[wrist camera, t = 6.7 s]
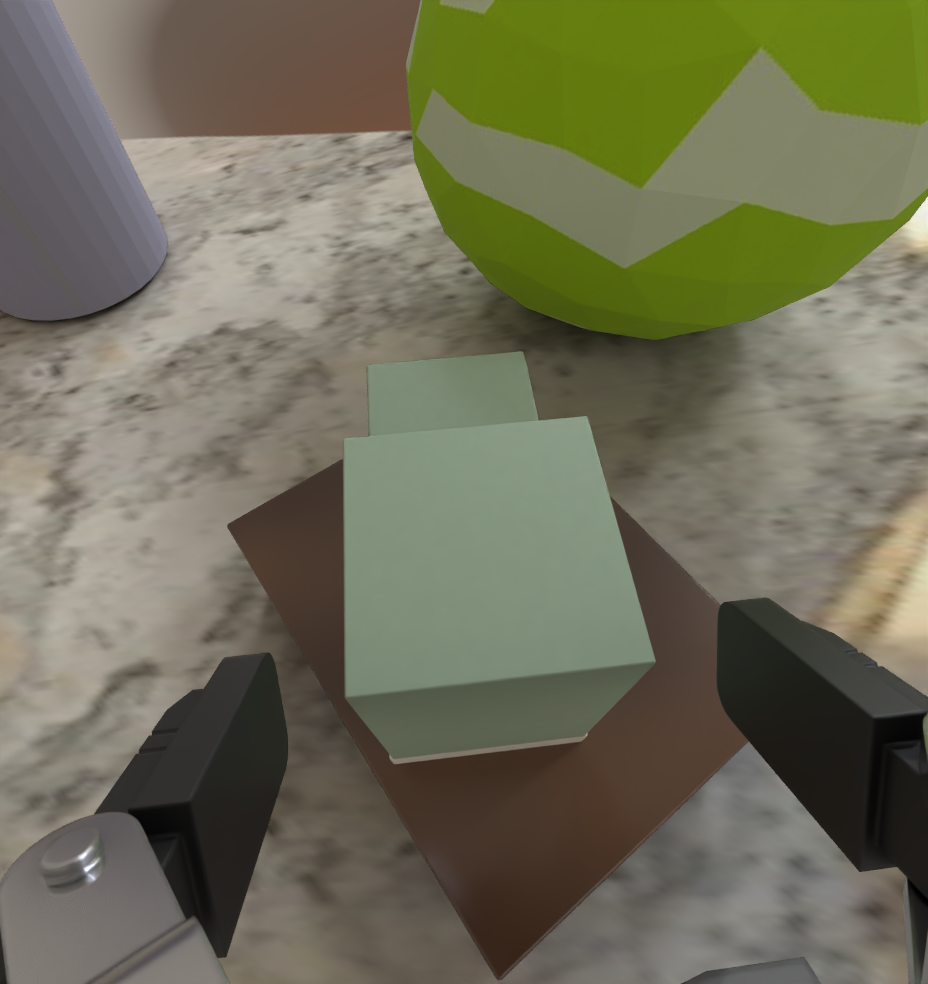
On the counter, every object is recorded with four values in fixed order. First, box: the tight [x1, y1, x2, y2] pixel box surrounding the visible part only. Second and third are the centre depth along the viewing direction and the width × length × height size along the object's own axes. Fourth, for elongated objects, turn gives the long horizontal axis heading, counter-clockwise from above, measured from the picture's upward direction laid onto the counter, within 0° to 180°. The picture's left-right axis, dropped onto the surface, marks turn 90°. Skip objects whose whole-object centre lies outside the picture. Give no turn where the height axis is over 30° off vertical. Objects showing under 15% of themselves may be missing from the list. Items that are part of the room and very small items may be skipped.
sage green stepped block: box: [343, 351, 656, 764], centre depth 17 cm, size 12×6×8 cm, turn 6°
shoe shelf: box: [227, 459, 749, 980], centre depth 22 cm, size 16×12×4 cm
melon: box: [406, 0, 928, 340], centre depth 25 cm, size 20×25×20 cm
